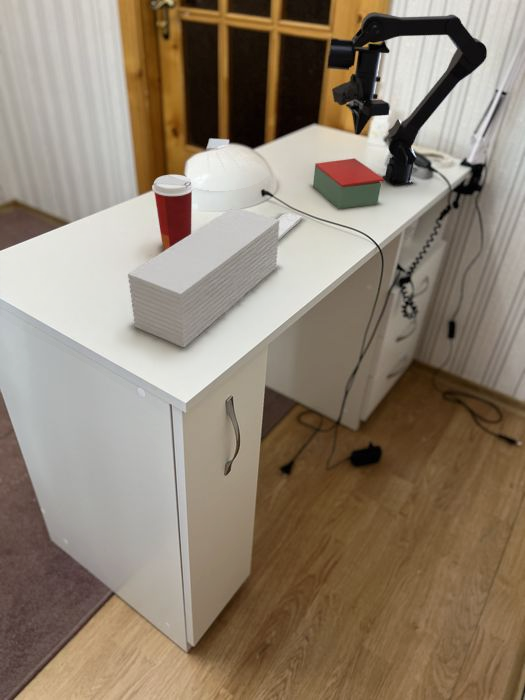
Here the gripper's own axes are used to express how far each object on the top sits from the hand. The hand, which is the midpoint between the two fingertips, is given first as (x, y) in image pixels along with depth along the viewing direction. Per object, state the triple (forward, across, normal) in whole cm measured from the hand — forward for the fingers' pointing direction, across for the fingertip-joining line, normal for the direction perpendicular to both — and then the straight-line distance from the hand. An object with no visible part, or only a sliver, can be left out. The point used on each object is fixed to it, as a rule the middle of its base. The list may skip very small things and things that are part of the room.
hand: (357, 134), depth 145 cm
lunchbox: (+12, +11, -8) cm, 18 cm away
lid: (+6, +11, -8) cm, 15 cm away
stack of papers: (+12, +47, -56) cm, 74 cm away
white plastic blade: (+12, +25, -33) cm, 43 cm away
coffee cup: (+12, +27, -58) cm, 65 cm away
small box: (+12, -6, -38) cm, 40 cm away
